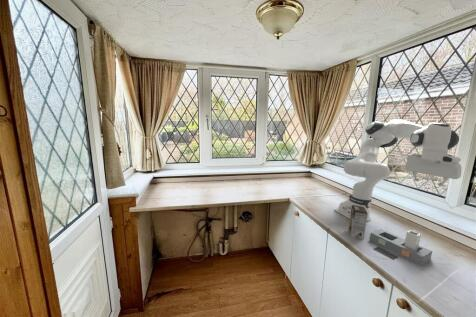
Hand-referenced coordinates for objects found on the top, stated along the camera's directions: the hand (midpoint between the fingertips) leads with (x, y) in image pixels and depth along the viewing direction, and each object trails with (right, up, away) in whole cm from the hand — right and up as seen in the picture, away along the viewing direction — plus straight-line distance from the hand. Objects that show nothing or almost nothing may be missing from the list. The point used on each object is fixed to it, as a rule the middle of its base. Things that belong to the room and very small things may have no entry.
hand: (428, 183), depth 99 cm
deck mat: (-23, -34, -3) cm, 41 cm away
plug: (-12, -33, -4) cm, 35 cm away
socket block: (-15, -34, +1) cm, 37 cm away
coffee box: (-28, -32, +14) cm, 44 cm away
